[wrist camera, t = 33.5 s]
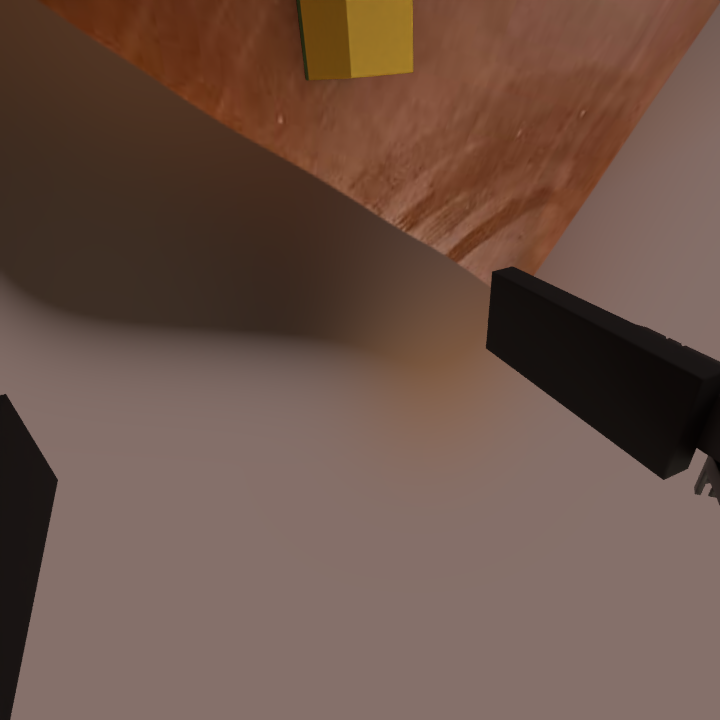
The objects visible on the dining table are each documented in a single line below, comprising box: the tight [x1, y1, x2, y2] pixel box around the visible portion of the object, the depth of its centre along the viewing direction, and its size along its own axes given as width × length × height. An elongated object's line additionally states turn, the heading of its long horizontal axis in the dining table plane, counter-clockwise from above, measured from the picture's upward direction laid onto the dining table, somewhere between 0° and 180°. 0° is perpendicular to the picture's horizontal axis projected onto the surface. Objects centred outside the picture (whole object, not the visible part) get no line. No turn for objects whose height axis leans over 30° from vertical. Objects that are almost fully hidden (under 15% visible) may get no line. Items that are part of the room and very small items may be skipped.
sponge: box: [296, 0, 413, 80], centre depth 29 cm, size 4×6×9 cm, turn 5°
